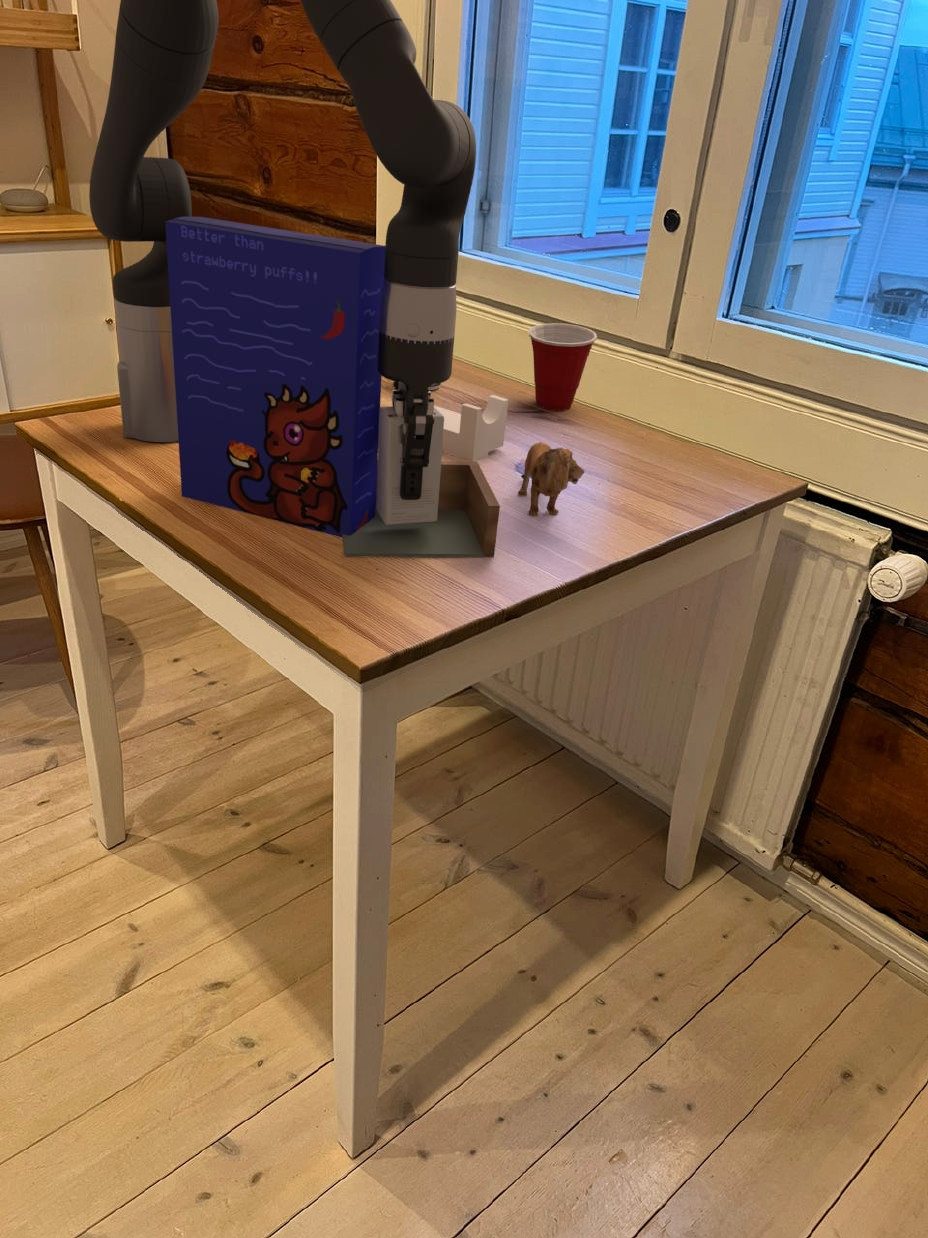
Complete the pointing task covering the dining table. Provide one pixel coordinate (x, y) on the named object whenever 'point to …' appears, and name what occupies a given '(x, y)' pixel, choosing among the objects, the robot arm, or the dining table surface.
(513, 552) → the dining table surface
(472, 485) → the corner walls
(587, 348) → the plastic cup
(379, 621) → the dining table surface
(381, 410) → the skincare box
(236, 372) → the cereal box
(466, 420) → the bracket
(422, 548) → the felt mat
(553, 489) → the lion figurine
